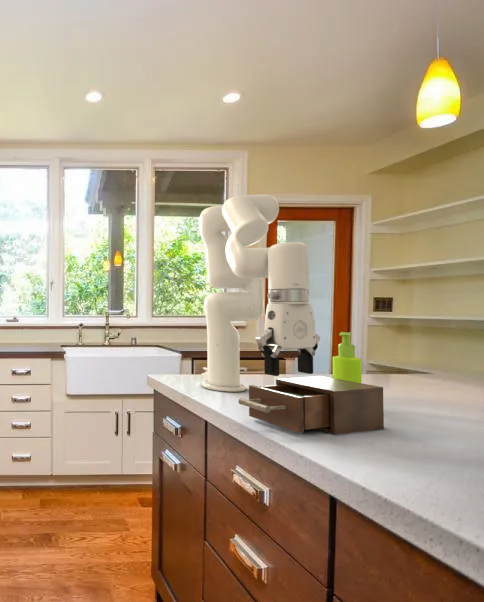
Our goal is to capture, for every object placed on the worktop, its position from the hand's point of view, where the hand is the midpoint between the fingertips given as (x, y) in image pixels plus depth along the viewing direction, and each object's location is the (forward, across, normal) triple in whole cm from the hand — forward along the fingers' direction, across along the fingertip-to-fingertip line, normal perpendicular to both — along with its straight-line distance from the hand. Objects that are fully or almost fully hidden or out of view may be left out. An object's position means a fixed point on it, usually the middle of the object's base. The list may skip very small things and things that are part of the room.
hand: (288, 373), depth 83 cm
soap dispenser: (+12, +29, +8) cm, 33 cm away
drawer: (+11, -1, 0) cm, 11 cm away
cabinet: (+12, +11, 0) cm, 16 cm away
